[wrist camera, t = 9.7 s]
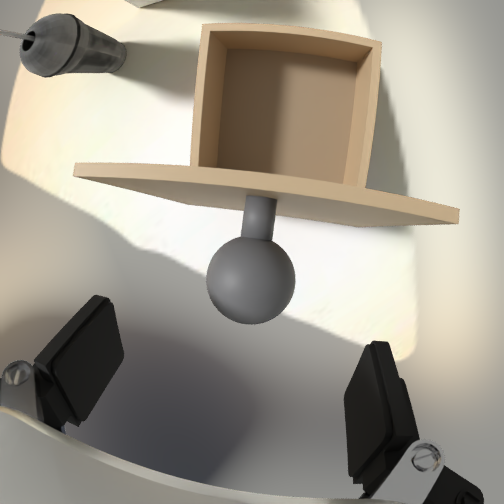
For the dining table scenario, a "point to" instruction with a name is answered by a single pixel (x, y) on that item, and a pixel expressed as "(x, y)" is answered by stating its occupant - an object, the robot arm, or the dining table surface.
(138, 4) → the milk carton
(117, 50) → the beverage cup
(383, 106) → the dining table surface
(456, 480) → the robot arm
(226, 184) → the flap
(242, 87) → the light brown open box
